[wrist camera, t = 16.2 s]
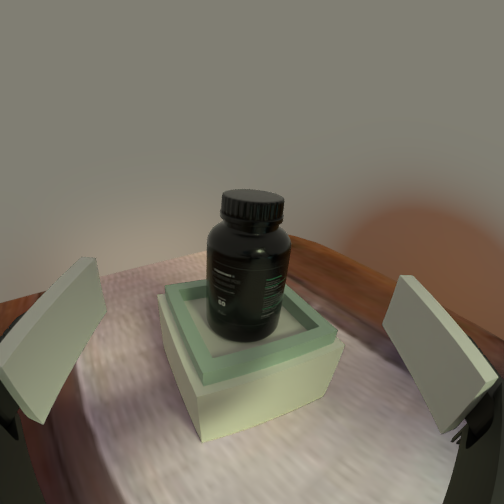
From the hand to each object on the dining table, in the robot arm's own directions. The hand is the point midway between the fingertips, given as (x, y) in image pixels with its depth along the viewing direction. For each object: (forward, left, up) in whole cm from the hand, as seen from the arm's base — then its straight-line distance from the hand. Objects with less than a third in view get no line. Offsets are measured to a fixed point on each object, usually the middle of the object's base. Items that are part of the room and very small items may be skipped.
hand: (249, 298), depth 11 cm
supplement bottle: (-5, -10, -11) cm, 16 cm away
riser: (-5, -10, -18) cm, 22 cm away
